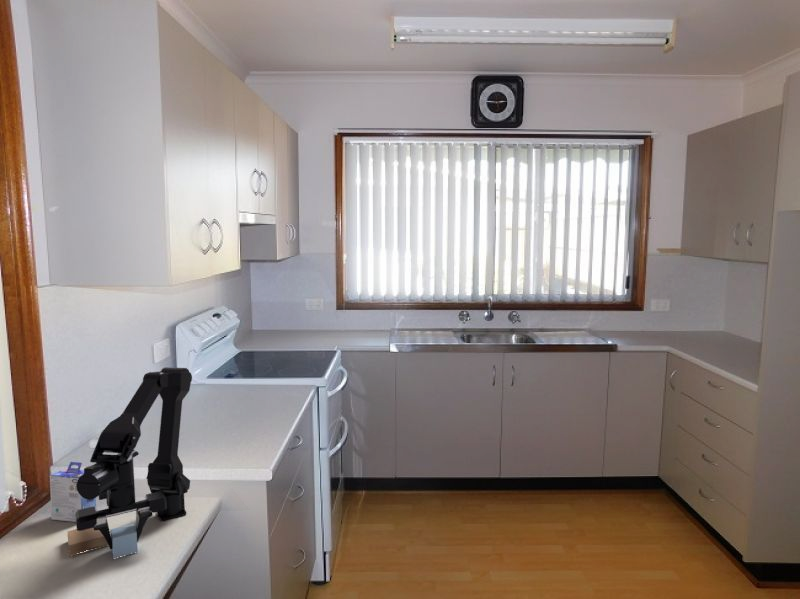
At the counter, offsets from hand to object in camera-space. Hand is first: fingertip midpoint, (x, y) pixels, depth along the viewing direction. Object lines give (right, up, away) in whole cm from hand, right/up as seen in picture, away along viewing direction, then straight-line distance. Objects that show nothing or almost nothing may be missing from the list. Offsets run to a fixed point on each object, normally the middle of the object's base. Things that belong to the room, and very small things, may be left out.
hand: (124, 545), depth 129 cm
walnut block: (-11, -2, +4) cm, 12 cm away
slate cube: (0, -2, 0) cm, 2 cm away
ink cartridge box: (-22, -1, +18) cm, 29 cm away
